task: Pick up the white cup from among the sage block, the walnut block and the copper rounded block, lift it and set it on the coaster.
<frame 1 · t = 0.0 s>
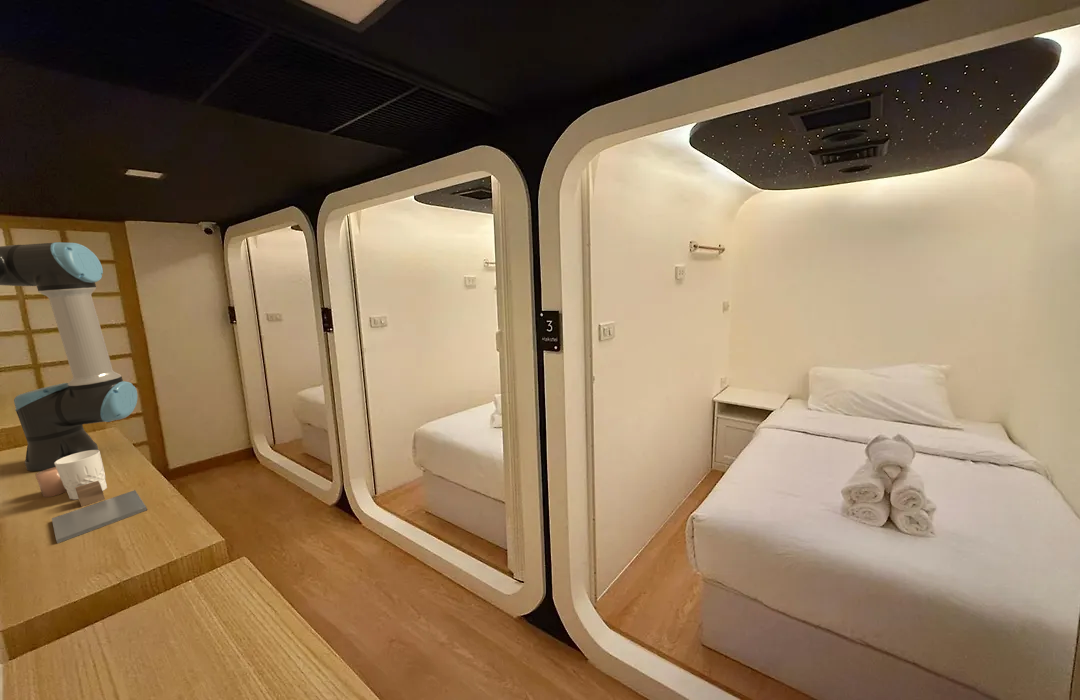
copper rounded block: (57, 491, 110), on the table
sage block: (86, 485, 113), on the table
walnut block: (92, 500, 104), on the table
coaster: (100, 515, 97), on the table
white cup: (89, 493, 108), on the table
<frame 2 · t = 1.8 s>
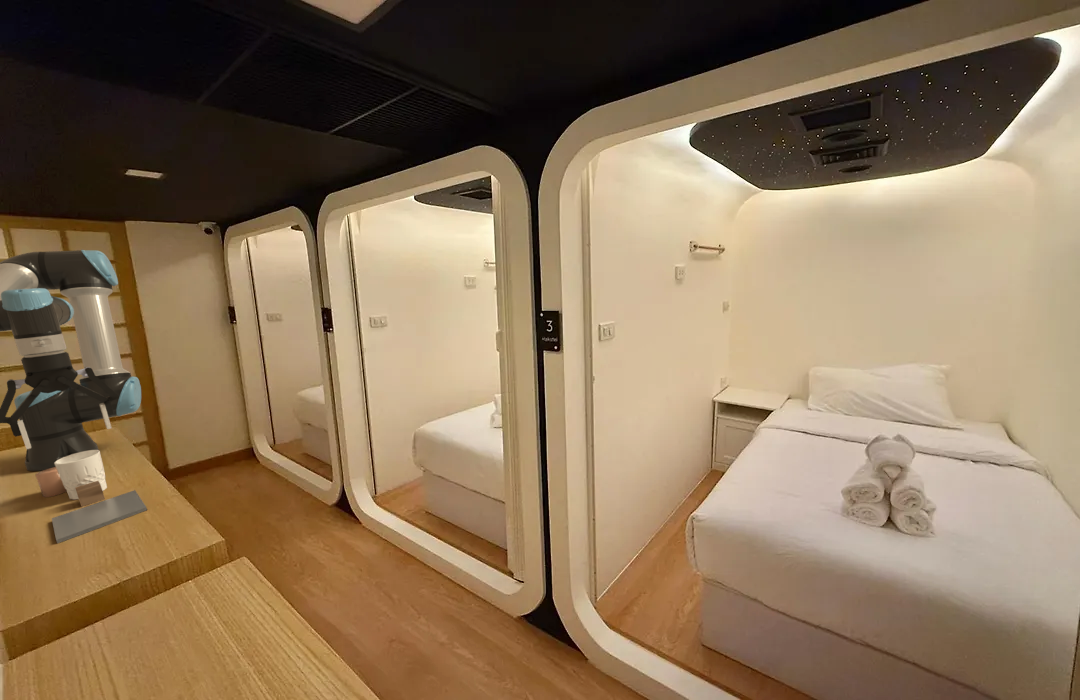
hand: (70, 437, 105), 15 cm above the table, fingers open, 13 cm apart
nothing on the table moved.
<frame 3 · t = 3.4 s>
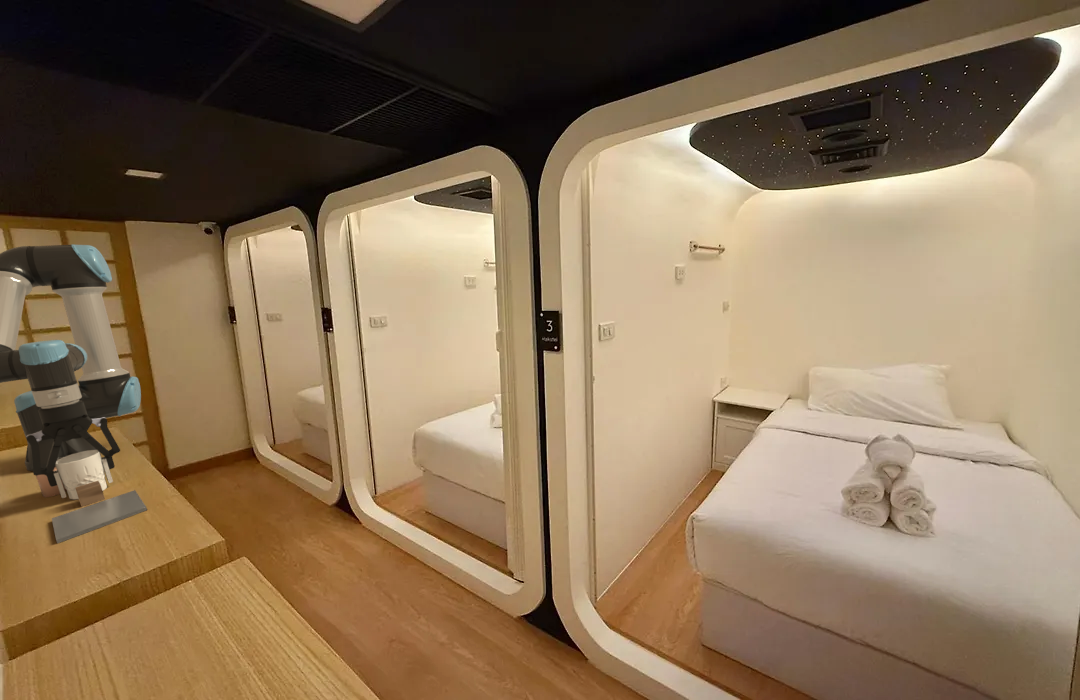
hand: (87, 488, 108), 1 cm above the table, fingers closed on white cup, 8 cm apart
copper rounded block: (57, 491, 110), on the table, touching sage block
sage block: (86, 485, 113), on the table, touching copper rounded block
white cup: (89, 493, 108), on the table, touching gripper
everything else where it was.
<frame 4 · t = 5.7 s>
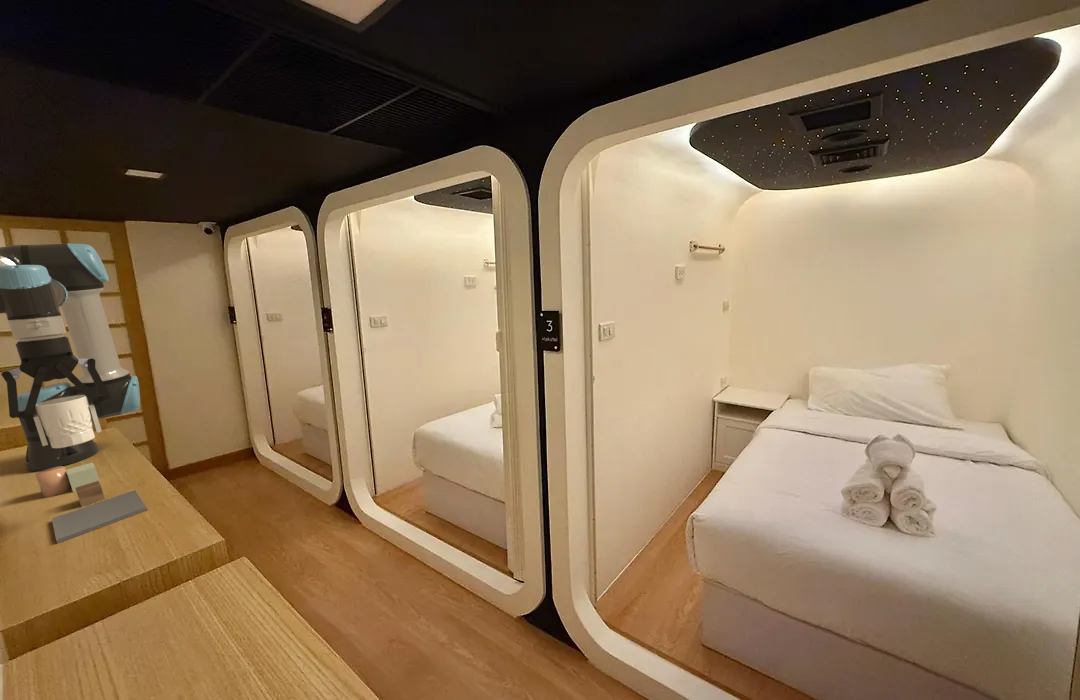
hand: (72, 437, 96), 18 cm above the table, fingers closed on white cup, 8 cm apart
copper rounded block: (57, 491, 110), on the table
sage block: (85, 485, 113), on the table
white cup: (74, 443, 96), point 17 cm above the table, touching gripper
everything else where it was.
when the fingers open (3 cm above the table, at t = 8.0 s): white cup drops 1 cm, resting on coaster.
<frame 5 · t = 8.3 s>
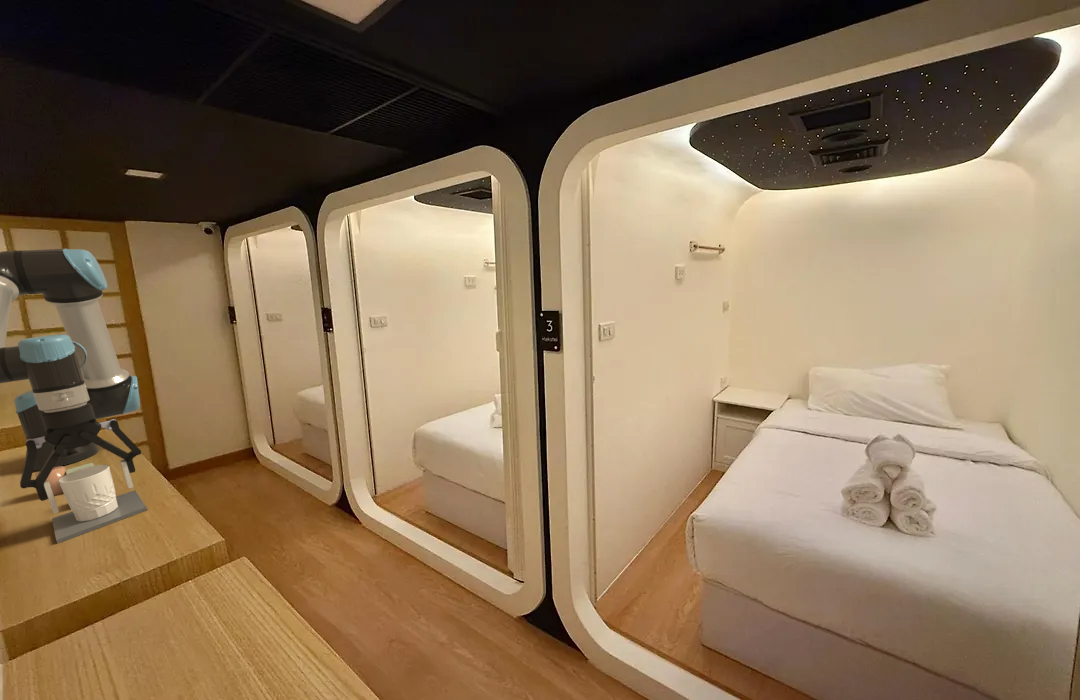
hand: (94, 498, 96), 4 cm above the table, fingers open, 11 cm apart
white cup: (98, 513, 96), point 1 cm above the table, touching coaster
everything else where it was.
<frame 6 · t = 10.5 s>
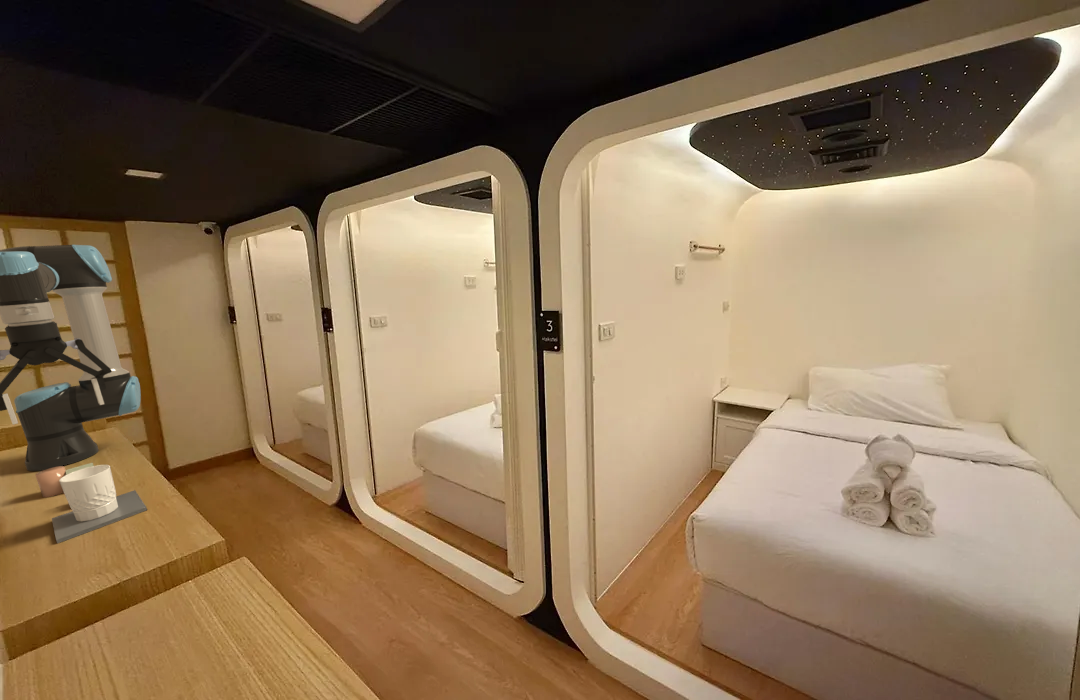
hand: (60, 412, 99), 23 cm above the table, fingers open, 13 cm apart
nothing on the table moved.
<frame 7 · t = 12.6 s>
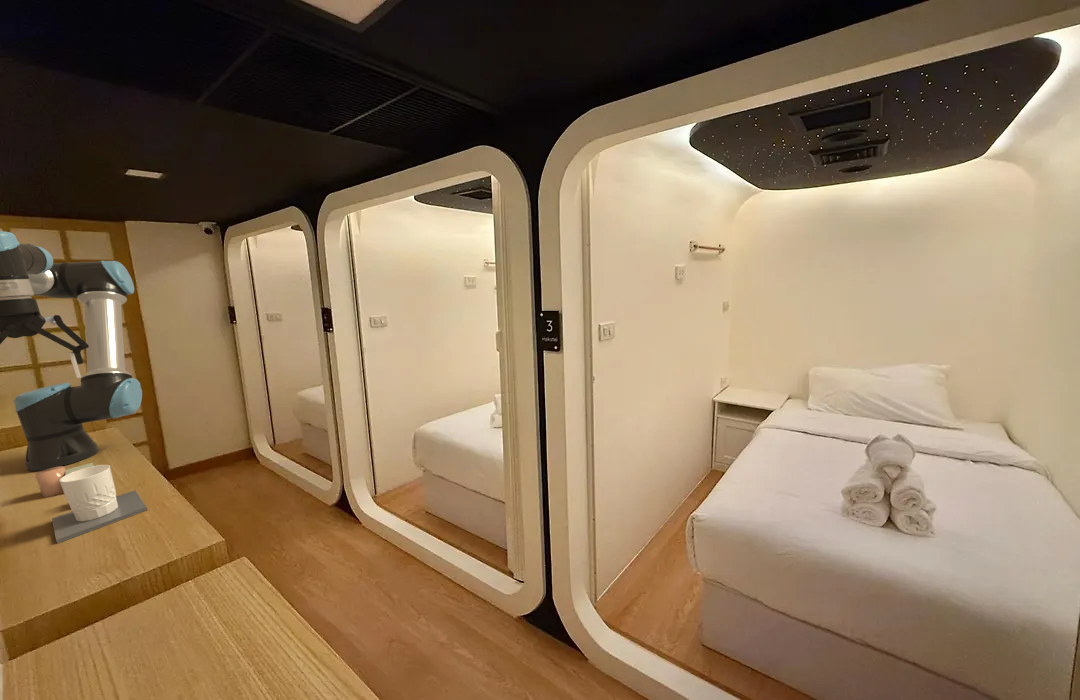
hand: (39, 384, 105), 29 cm above the table, fingers open, 13 cm apart
nothing on the table moved.
at the end: white cup inside the target area on the coaster (0.2 cm from its centre), point 0.6 cm above the coaster's base; white cup tilted 0°; the gripper is holding nothing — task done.
